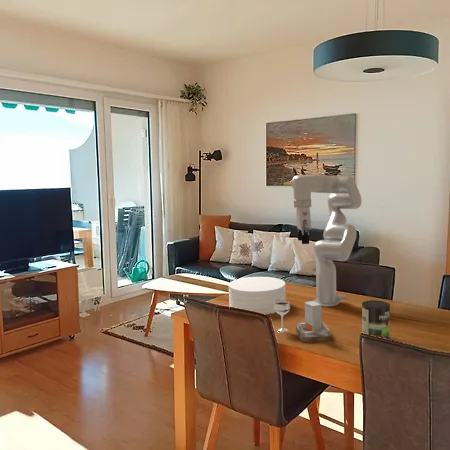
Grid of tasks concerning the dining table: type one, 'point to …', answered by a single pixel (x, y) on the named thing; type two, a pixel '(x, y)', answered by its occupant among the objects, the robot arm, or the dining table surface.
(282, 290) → the plate stack
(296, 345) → the dining table surface
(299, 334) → the square tray
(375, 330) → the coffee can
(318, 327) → the skincare box
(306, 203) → the robot arm
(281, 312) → the wineglass
